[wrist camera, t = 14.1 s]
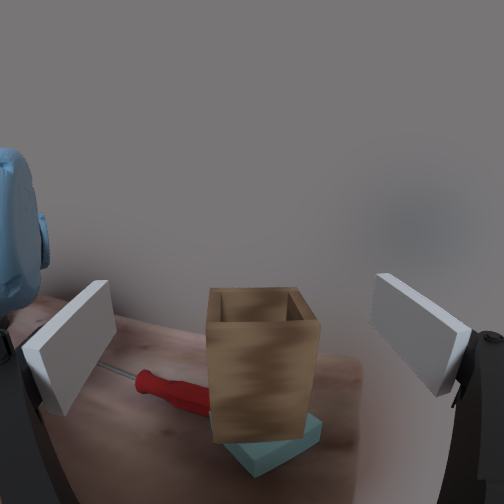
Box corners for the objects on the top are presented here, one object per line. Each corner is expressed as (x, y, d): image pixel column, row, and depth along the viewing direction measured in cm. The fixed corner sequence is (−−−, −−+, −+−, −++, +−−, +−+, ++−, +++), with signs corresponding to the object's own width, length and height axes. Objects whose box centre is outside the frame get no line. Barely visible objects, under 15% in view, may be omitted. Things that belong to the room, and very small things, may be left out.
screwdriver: (89, 359, 41) (84, 339, 40) (236, 410, 32) (234, 387, 31) (74, 368, 37) (68, 348, 37) (223, 428, 29) (221, 406, 28)
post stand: (211, 430, 28) (203, 364, 26) (271, 405, 33) (273, 340, 31) (254, 478, 22) (253, 413, 20) (319, 441, 26) (330, 374, 24)
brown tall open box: (213, 443, 23) (205, 328, 20) (214, 390, 31) (210, 287, 28) (302, 438, 24) (321, 325, 21) (287, 387, 31) (296, 287, 29)
